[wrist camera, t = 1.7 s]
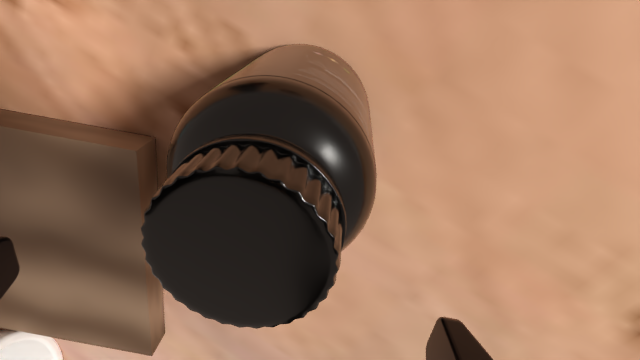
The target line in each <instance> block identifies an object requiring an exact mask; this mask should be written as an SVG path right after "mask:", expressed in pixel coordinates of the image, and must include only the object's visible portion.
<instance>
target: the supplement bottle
mask: <svg viewBox="0 0 640 360" xmlns="http://www.w3.org/2000/svg"><path fill="white" fill-rule="evenodd" d="M375 193H376V164H375V155H374V145H373V136H372V127H371V118H370V109H369V103H368V98H367V95H366V91H365V89H364V86H363V84H362V82H361V80H360V79H359V77H358V75H357V74H356V72H355V71H354V70H353V69H352V68H351V66H350V65H349V64H348V63H346V62H345V61H344V60H343V59H342V58H340V57H339V56H337V55H336V54H334V53H332V52H330V51H328V50H326V49H324V48H321V47H317V46H313V45H307V44H292V45H286V46H282V47H278V48H276V49H273V50H271V51H269V52H267V53H265V54H263V55H262V56H260V57H259V58H257V59H255V60H254V61H253V62H251V63H250V64H248V65H247V66H245V67H244V68H242V69H241V70H239V71H238V72H236V73H235V74H234V75H232V76H231V77H229V78H228V79H226V80H225V81H223V82H222V83H220V84H219V85H217V86H216V87H215V88H213V89H212V90H210V91H209V92H207V93H206V94H205V95H203V96H202V97H201V98H200V99H199V100H198V101H197V102H195V103H194V104H193V105H192V106H191V107H190V109H189V110H188V111H187V112H186V113H185V114H184V116H183V117H182V118H181V120H180V122H179V123H178V125H177V127H176V129H175V131H174V134H173V136H172V139H171V142H170V145H169V150H168V156H167V180H166V181H165V182H164V184H163V185H162V186H161V187H160V188H159V189H158V190H157V191H156V192H155V193H154V195H153V196H152V198H151V202H150V205H149V206H148V207H147V208H146V210H145V212H144V221H145V222H144V223H143V225H142V227H141V232H142V235H143V240H142V243H141V245H142V247H143V249H144V251H145V252H146V255H145V260H146V262H147V263H148V264H149V265H150V267H151V270H152V274H153V275H154V276H155V277H156V278H157V279H158V280H159V281H160V283H161V285H162V287H163V288H164V289H165V290H167V291H169V292H170V293H171V294H172V295H173V297H174V298H175V300H177V301H179V302H181V303H183V304H185V305H186V306H187V308H189V309H190V310H192V311H195V312H198V313H200V314H201V315H202V316H204V317H205V318H208V319H214V320H216V321H218V322H220V323H222V324H231V325H234V326H237V327H251V328H256V329H257V328H261V327H275V326H277V325H279V324H289V323H291V322H292V321H293V320H294V319H299V318H303V317H304V316H305V315H306V314H307V313H308V312H309V311H312V310H314V309H316V308H317V307H318V304H319V302H321V301H323V300H324V299H326V298H327V296H328V292H329V289H330V288H331V287H332V286H333V285H334V284H335V281H336V273H337V271H338V270H339V267H340V261H341V251H343V250H344V249H345V248H346V247H347V246H348V245H349V244H350V243H351V242H352V241H353V240H354V239H355V238H356V237H357V235H358V234H359V233H360V232H361V230H362V229H363V227H364V225H365V224H366V222H367V220H368V218H369V215H370V213H371V210H372V207H373V204H374V199H375Z"/></svg>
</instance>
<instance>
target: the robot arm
mask: <svg viewBox="0 0 640 360" xmlns="http://www.w3.org/2000/svg"><path fill="white" fill-rule="evenodd" d="M19 271H20V266H19V262H18V258H17V255H16V251H15V248H14V244H13V242H12V240H11V239H10V238H8V237H6V236H1V235H0V300H1V298H2V297H3V296H4V294H5V293H6V292H7V290H8V289H9V288H10V286H11V285H12V284H13V283H14V281H15V280H16V278H17V276H18V274H19ZM426 360H493V359H492V358H491V356H490V355H489V354H488V353H487V352H486V350H485V349H484V348H483V347H482V346H481V344H480V343H479V342H478V341H477V340H476V338H475V337H474V336H473V335H472V334H471V333H470V331H469V330H468V329H467V328H466V327H465V325H464V324H463V323H462V322H461V321H459V320H457V319H452V318H446V317H440V318H439V319H438V320H437V321H436V324H435V326H434V328H433V330H432V333H431V335H430V337H429V340H428V342H427V346H426Z"/></svg>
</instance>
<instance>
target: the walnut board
mask: <svg viewBox="0 0 640 360" xmlns="http://www.w3.org/2000/svg"><path fill="white" fill-rule="evenodd" d="M157 190H158V185H157V165H156V145H155V137H151V136H145V135H140V134H134V133H129V132H124V131H118V130H113V129H107V128H102V127H96V126H91V125H85V124H80V123H74V122H69V121H63V120H58V119H52V118H47V117H42V116H36V115H31V114H25V113H20V112H14V111H9V110H3V109H0V235H1V236H6V237H8V238H10V239H11V240H12V242H13V244H14V248H15V251H16V255H17V258H18V262H19V266H20V271H19V274H18V276H17V278H16V280H15V281H14V283H13V284H12V285H11V286H10V288H9V289H8V290H7V292H6V293H5V294H4V296H3V297H2V298H1V300H0V328H4V329H10V330H15V331H20V332H26V333H31V334H37V335H42V336H47V337H53V338H58V339H63V340H69V341H74V342H79V343H85V344H90V345H96V346H101V347H106V348H112V349H117V350H122V351H128V352H133V353H139V354H144V355H149V356H152V355H153V353H154V352H155V350H156V348H157V346H158V345H159V343H160V341H161V339H162V337H163V336H164V334H165V324H164V304H163V287H162V285H161V283H160V281H159V280H158V279H157V278H156V277H155V276H154V275H153V274H152V270H151V267H150V265H149V264H148V263H147V262H146V260H145V255H146V252H145V251H144V249H143V247H142V245H141V243H142V240H143V235H142V232H141V227H142V225H143V223H144V222H145V221H144V212H145V210H146V208H147V207H148V206H149V205H150V202H151V198H152V196H153V195H154V193H155V192H156V191H157Z"/></svg>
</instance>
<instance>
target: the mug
mask: <svg viewBox="0 0 640 360" xmlns="http://www.w3.org/2000/svg"><path fill="white" fill-rule="evenodd" d="M0 360H63V355H62V352H61V349H60V347H59V345H58V343H57V342H56V340H55V339H54V338H53V337H47V336H42V335H37V334H31V333H26V332H20V331H15V330H10V329H9V330H0Z"/></svg>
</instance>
